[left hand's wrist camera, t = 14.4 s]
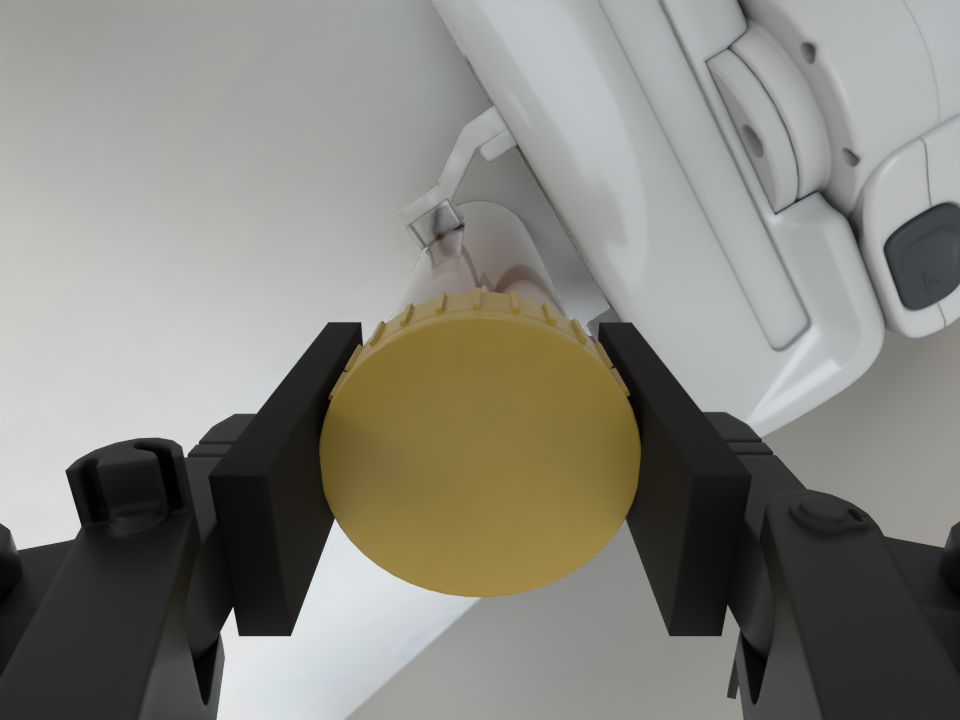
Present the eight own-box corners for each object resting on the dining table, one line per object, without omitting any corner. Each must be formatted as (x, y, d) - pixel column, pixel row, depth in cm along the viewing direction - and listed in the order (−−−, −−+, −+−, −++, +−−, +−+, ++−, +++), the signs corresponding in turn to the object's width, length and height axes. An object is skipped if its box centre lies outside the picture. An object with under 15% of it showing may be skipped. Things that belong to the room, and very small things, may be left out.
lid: (333, 535, 13) (314, 589, 11) (336, 272, 11) (312, 295, 9) (598, 556, 13) (613, 612, 11) (651, 302, 11) (678, 330, 9)
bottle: (408, 227, 27) (291, 388, 10) (509, 182, 27) (560, 276, 10) (453, 322, 29) (415, 595, 12) (548, 283, 28) (652, 514, 11)
